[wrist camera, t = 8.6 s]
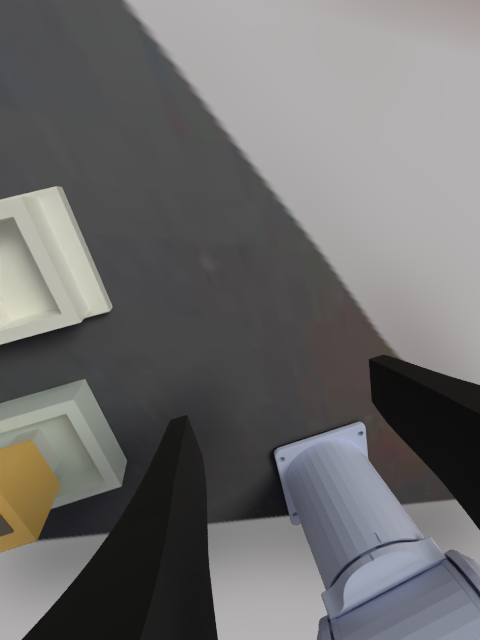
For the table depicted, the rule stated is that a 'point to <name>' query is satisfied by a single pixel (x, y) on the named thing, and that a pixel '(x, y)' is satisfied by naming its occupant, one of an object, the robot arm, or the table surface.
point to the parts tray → (69, 438)
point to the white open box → (44, 267)
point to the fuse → (26, 488)
